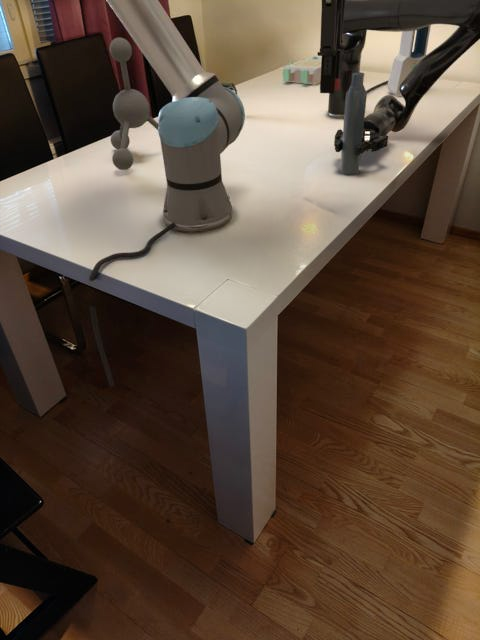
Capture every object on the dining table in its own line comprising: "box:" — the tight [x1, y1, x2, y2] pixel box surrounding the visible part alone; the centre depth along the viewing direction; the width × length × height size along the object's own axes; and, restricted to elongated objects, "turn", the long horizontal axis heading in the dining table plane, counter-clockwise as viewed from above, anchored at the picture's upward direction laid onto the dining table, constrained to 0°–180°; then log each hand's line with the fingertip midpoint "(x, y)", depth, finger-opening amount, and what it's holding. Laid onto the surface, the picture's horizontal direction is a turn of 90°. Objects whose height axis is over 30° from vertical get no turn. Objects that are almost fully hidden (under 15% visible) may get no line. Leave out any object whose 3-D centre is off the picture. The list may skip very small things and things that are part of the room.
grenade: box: [220, 82, 238, 95], centre depth 166 cm, size 7×6×10 cm
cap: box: [319, 78, 340, 91], centre depth 96 cm, size 4×4×2 cm
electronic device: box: [387, 25, 432, 97], centre depth 173 cm, size 12×8×30 cm, turn 105°
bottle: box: [339, 72, 368, 176], centre depth 117 cm, size 5×5×23 cm
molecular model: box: [109, 37, 159, 171], centre depth 131 cm, size 24×22×30 cm
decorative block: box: [282, 56, 322, 85], centre depth 205 cm, size 26×6×20 cm
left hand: (329, 89), depth 96 cm, fingers closed on cap, 4 cm apart
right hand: (347, 149), depth 119 cm, fingers closed on bottle, 4 cm apart
